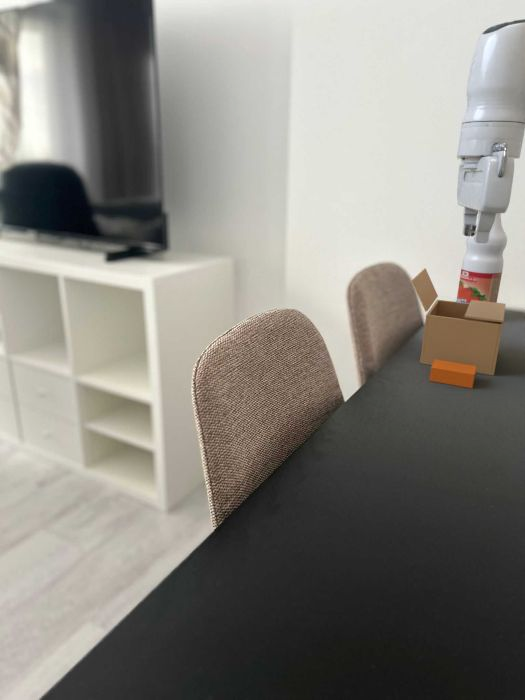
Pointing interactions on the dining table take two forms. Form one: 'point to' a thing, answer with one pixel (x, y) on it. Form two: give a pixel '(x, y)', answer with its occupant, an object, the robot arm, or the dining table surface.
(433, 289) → the cardboard box flap
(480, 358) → the brown open box
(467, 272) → the fruit juice
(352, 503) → the dining table surface
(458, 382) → the block
